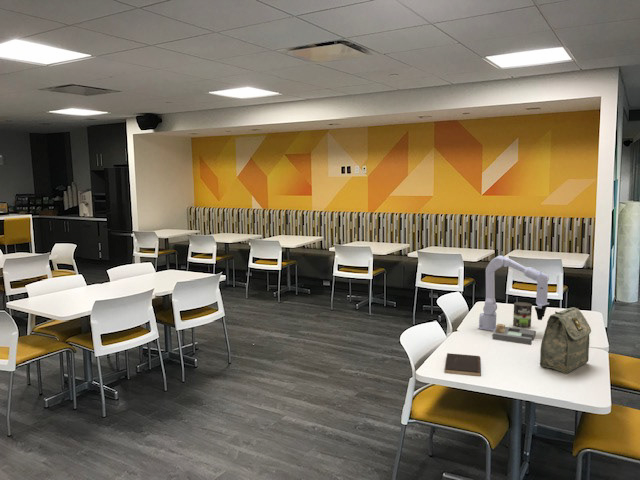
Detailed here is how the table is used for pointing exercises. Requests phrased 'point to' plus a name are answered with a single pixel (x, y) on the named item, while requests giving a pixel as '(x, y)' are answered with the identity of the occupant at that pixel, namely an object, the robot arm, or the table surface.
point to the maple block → (500, 328)
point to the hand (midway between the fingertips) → (540, 318)
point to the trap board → (515, 335)
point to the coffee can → (522, 315)
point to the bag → (565, 341)
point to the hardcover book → (463, 364)
